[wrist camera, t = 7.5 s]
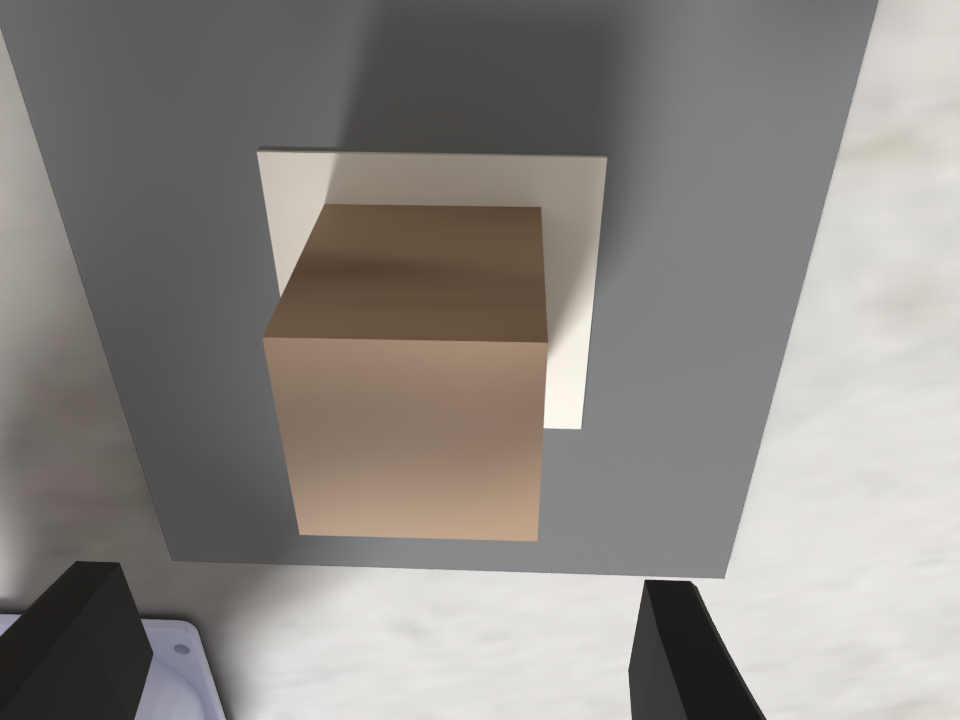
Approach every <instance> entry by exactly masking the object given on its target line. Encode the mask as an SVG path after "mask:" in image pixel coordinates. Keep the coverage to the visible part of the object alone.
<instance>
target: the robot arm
mask: <svg viewBox="0 0 960 720" xmlns="http://www.w3.org/2000/svg"><path fill="white" fill-rule="evenodd" d="M628 672H629V686H630V700H631V713H632V720H766V718H765V716H764V715H763V713H762V711H761V710H760V708H759V706H758V705H757V703H756V701H755V699H754V698H753V696H752V694H751V692H750V691H749V689H748V687H747V685H746V684H745V682H744V680H743V678H742V676H741V674H740V673H739V671H738V669H737V667H736V665H735V663H734V661H733V660H732V658H731V656H730V654H729V652H728V650H727V648H726V646H725V644H724V643H723V641H722V639H721V637H720V635H719V633H718V631H717V629H716V627H715V625H714V623H713V621H712V619H711V617H710V614H709V612H708V610H707V608H706V606H705V604H704V602H703V600H702V597H701V595H700V593H699V591H698V588H697V587H696V586H695V585H694V584H693V583H692V582H691V581H670V580H645V581H644V587H643V593H642V598H641V604H640V609H639V615H638V620H637V626H636V631H635V637H634V642H633V648H632V653H631V659H630V664H629V670H628ZM0 720H226V718H225V715H224V712H223V709H222V706H221V703H220V699H219V696H218V693H217V690H216V687H215V684H214V681H213V678H212V674H211V671H210V668H209V665H208V662H207V659H206V656H205V652H204V649H203V646H202V643H201V640H200V637H199V634H198V631H197V629H196V628H195V626H194V625H192V624H191V623H189V622H186V621H181V620H159V619H141V618H140V616H139V613H138V610H137V608H136V605H135V603H134V600H133V597H132V595H131V592H130V589H129V587H128V584H127V581H126V579H125V576H124V573H123V571H122V568H121V565H120V563H116V562H85V561H76V562H75V563H74V564H73V565H72V566H71V567H70V568H68V569H67V570H66V571H65V572H64V573H63V574H62V575H61V576H60V577H59V578H58V579H57V580H56V581H55V582H54V583H53V584H52V585H51V586H50V587H49V588H48V589H47V590H46V591H45V592H44V593H43V594H42V595H41V596H40V597H39V598H38V599H37V600H36V601H35V602H34V603H33V604H32V605H31V606H30V607H29V608H28V609H27V610H26V611H25V612H24V613H23V614H22V615H15V614H0Z"/></svg>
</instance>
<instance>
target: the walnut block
mask: <svg viewBox="0 0 960 720" xmlns="http://www.w3.org/2000/svg"><path fill="white" fill-rule="evenodd" d="M262 339H263V345H264V350H265V355H266V360H267V366H268V371H269V376H270V381H271V387H272V392H273V397H274V402H275V408H276V413H277V418H278V423H279V429H280V434H281V439H282V444H283V450H284V455H285V460H286V465H287V471H288V476H289V481H290V486H291V491H292V497H293V502H294V507H295V512H296V518H297V523H298V528H299V533H300V535H324V536H360V537H397V538H433V539H470V540H506V541H537V538H538V520H539V501H540V483H541V464H542V446H543V427H544V409H545V390H546V372H547V353H548V332H547V313H546V293H545V274H544V255H543V236H542V216H541V207H504V206H429V205H353V204H324V206H323V208H322V210H321V212H320V214H319V216H318V219H317V221H316V223H315V225H314V227H313V229H312V231H311V234H310V236H309V238H308V240H307V242H306V244H305V246H304V249H303V251H302V253H301V255H300V257H299V259H298V261H297V264H296V266H295V268H294V270H293V272H292V274H291V276H290V279H289V281H288V283H287V285H286V287H285V289H284V292H283V294H282V296H281V298H280V300H279V302H278V304H277V307H276V309H275V311H274V313H273V315H272V317H271V319H270V322H269V324H268V326H267V328H266V330H265V332H264V334H263V337H262Z"/></svg>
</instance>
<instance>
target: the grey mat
mask: <svg viewBox="0 0 960 720" xmlns="http://www.w3.org/2000/svg"><path fill="white" fill-rule="evenodd" d="M877 3H878V0H0V27H1V31H2V34H3V37H4V40H5V43H6V46H7V49H8V52H9V55H10V59H11V62H12V65H13V68H14V71H15V74H16V77H17V80H18V83H19V86H20V90H21V93H22V96H23V99H24V102H25V105H26V108H27V111H28V114H29V118H30V121H31V124H32V127H33V130H34V133H35V136H36V139H37V142H38V145H39V149H40V152H41V155H42V158H43V161H44V164H45V167H46V170H47V173H48V177H49V180H50V183H51V186H52V189H53V192H54V195H55V198H56V201H57V204H58V208H59V211H60V214H61V217H62V220H63V223H64V226H65V229H66V232H67V236H68V239H69V242H70V245H71V248H72V251H73V254H74V257H75V260H76V263H77V267H78V270H79V273H80V276H81V279H82V282H83V285H84V288H85V291H86V295H87V298H88V301H89V304H90V307H91V310H92V313H93V316H94V319H95V322H96V326H97V329H98V332H99V335H100V338H101V341H102V344H103V347H104V350H105V354H106V357H107V360H108V363H109V366H110V369H111V372H112V375H113V378H114V381H115V385H116V388H117V391H118V394H119V397H120V400H121V403H122V406H123V409H124V413H125V416H126V419H127V422H128V425H129V428H130V431H131V434H132V437H133V440H134V444H135V447H136V450H137V453H138V456H139V459H140V462H141V465H142V468H143V472H144V475H145V478H146V481H147V484H148V487H149V490H150V493H151V496H152V500H153V503H154V506H155V509H156V512H157V515H158V518H159V521H160V524H161V527H162V531H163V534H164V537H165V540H166V543H167V546H168V549H169V552H170V555H171V559H172V561H197V562H228V563H259V564H289V565H320V566H351V567H382V568H412V569H443V570H474V571H505V572H535V573H566V574H597V575H628V576H658V577H689V578H720V579H724V578H725V574H726V570H727V567H728V563H729V559H730V555H731V552H732V548H733V544H734V540H735V537H736V533H737V529H738V525H739V522H740V518H741V514H742V510H743V507H744V503H745V499H746V495H747V492H748V488H749V484H750V480H751V477H752V473H753V469H754V465H755V461H756V458H757V454H758V450H759V446H760V443H761V439H762V435H763V431H764V428H765V424H766V420H767V416H768V413H769V409H770V405H771V401H772V398H773V394H774V390H775V386H776V383H777V379H778V375H779V371H780V368H781V364H782V360H783V356H784V353H785V349H786V345H787V341H788V338H789V334H790V330H791V326H792V323H793V319H794V315H795V311H796V308H797V304H798V300H799V296H800V292H801V289H802V285H803V281H804V277H805V274H806V270H807V266H808V262H809V259H810V255H811V251H812V247H813V244H814V240H815V236H816V232H817V229H818V225H819V221H820V217H821V214H822V210H823V206H824V202H825V199H826V195H827V191H828V187H829V184H830V180H831V176H832V172H833V169H834V165H835V161H836V157H837V154H838V150H839V146H840V142H841V139H842V135H843V131H844V127H845V123H846V120H847V116H848V112H849V108H850V105H851V101H852V97H853V93H854V90H855V86H856V82H857V78H858V75H859V71H860V67H861V63H862V60H863V56H864V52H865V48H866V45H867V41H868V37H869V33H870V30H871V26H872V22H873V18H874V15H875V11H876V7H877ZM324 204H353V205H429V206H504V207H541V216H542V236H543V255H544V274H545V293H546V313H547V332H548V353H547V372H546V390H545V409H544V427H543V446H542V464H541V483H540V501H539V520H538V538H537V541H506V540H470V539H433V538H397V537H360V536H324V535H300V533H299V528H298V523H297V518H296V512H295V507H294V502H293V497H292V491H291V486H290V481H289V476H288V471H287V465H286V460H285V455H284V450H283V444H282V439H281V434H280V429H279V423H278V418H277V413H276V408H275V402H274V397H273V392H272V387H271V381H270V376H269V371H268V366H267V360H266V355H265V350H264V345H263V339H262V337H263V334H264V332H265V330H266V328H267V326H268V324H269V322H270V319H271V317H272V315H273V313H274V311H275V309H276V307H277V304H278V302H279V300H280V298H281V296H282V294H283V292H284V289H285V287H286V285H287V283H288V281H289V279H290V276H291V274H292V272H293V270H294V268H295V266H296V264H297V261H298V259H299V257H300V255H301V253H302V251H303V249H304V246H305V244H306V242H307V240H308V238H309V236H310V234H311V231H312V229H313V227H314V225H315V223H316V221H317V219H318V216H319V214H320V212H321V210H322V208H323V206H324Z"/></svg>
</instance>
